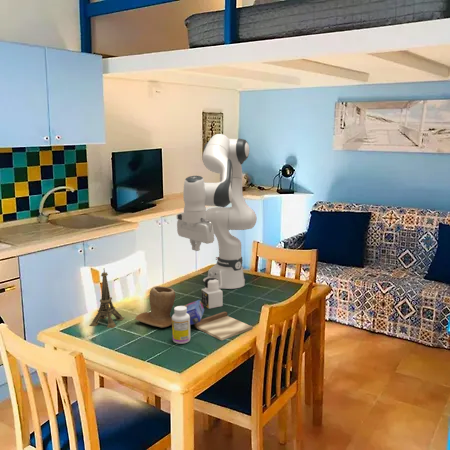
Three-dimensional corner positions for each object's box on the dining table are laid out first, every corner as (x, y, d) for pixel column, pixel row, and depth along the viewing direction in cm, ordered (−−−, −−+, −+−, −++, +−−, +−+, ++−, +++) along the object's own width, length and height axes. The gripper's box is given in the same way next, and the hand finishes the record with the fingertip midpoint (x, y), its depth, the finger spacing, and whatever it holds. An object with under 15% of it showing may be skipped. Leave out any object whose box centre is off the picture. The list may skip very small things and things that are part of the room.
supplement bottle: (177, 335, 191) (176, 303, 188) (193, 338, 188) (192, 305, 186) (169, 342, 184) (168, 309, 182) (185, 345, 182) (184, 312, 180)
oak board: (194, 327, 198) (194, 321, 198) (224, 317, 208) (224, 311, 208) (221, 340, 186) (221, 334, 185) (252, 328, 196) (252, 322, 196)
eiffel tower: (113, 328, 198) (109, 267, 193) (89, 326, 201) (85, 266, 196) (124, 318, 208) (121, 260, 204) (101, 316, 211) (97, 259, 206)
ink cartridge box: (199, 298, 205) (194, 312, 191) (205, 309, 206) (200, 324, 192) (178, 306, 207) (171, 321, 193) (184, 318, 208) (177, 333, 194)
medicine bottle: (201, 303, 224) (200, 278, 221) (215, 301, 227) (215, 275, 225) (208, 309, 218) (207, 282, 215) (222, 306, 221) (222, 280, 218)
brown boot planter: (182, 322, 204) (181, 287, 201) (162, 332, 194) (161, 295, 191) (154, 314, 212) (153, 280, 209) (134, 323, 203) (132, 288, 200)
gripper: (217, 219, 195) (218, 253, 198) (186, 212, 210) (187, 244, 213) (205, 221, 191) (205, 256, 194) (174, 214, 206) (175, 247, 209)
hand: (195, 250), depth 204 cm, fingers closed
